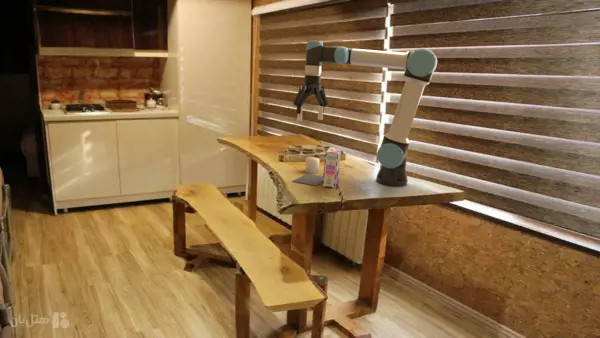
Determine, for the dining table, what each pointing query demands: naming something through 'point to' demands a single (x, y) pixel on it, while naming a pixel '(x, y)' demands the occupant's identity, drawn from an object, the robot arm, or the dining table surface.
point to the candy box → (331, 167)
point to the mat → (309, 179)
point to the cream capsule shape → (312, 165)
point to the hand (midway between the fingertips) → (310, 120)
